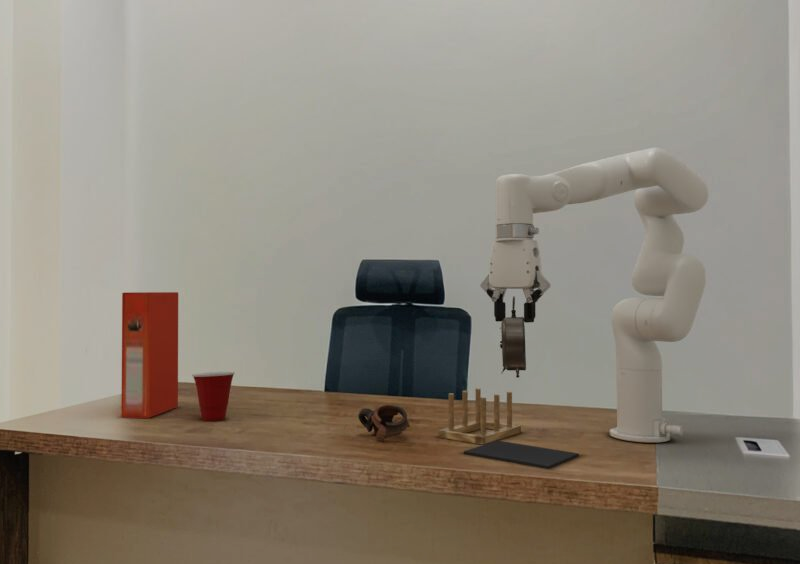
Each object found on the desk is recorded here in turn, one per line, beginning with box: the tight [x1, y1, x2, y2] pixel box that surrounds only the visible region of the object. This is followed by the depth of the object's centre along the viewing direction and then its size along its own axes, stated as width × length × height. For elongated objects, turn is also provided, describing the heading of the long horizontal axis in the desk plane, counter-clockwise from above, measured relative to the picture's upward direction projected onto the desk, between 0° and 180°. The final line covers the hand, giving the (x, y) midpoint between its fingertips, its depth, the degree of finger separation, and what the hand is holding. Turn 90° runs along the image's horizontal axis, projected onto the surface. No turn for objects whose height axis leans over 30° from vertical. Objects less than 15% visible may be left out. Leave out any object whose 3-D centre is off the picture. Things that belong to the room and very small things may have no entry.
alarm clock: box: [499, 296, 527, 379], centre depth 147 cm, size 11×5×16 cm, turn 166°
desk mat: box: [463, 440, 580, 470], centre depth 143 cm, size 18×14×1 cm
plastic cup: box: [191, 371, 235, 422], centre depth 180 cm, size 11×11×12 cm
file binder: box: [120, 291, 179, 419], centre depth 190 cm, size 8×17×32 cm, turn 168°
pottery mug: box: [357, 403, 410, 442], centre depth 159 cm, size 12×10×8 cm
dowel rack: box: [438, 387, 522, 445], centre depth 163 cm, size 11×18×10 cm, turn 139°
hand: (514, 320), depth 147 cm, fingers closed on alarm clock, 5 cm apart
